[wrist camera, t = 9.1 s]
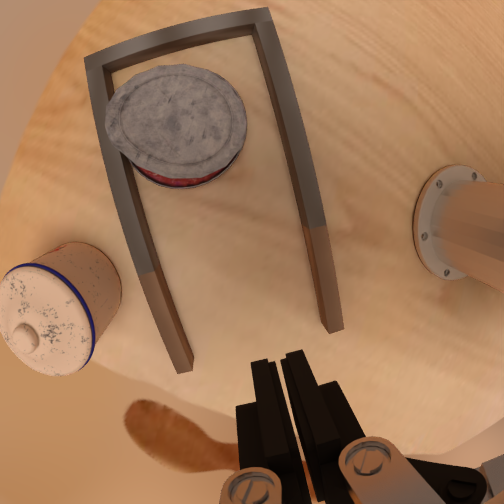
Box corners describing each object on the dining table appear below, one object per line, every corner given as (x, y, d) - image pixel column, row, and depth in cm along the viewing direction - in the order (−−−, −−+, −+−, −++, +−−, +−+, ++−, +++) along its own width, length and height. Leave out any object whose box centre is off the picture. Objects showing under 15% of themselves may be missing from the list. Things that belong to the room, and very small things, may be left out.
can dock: (264, 19, 23) (268, 6, 21) (335, 318, 31) (344, 329, 29) (93, 65, 23) (83, 57, 20) (179, 359, 30) (177, 373, 28)
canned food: (145, 117, 29) (106, 50, 19) (244, 100, 29) (234, 21, 19) (139, 223, 26) (79, 173, 17) (257, 207, 26) (248, 141, 16)
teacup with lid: (63, 220, 26) (-12, 249, 15) (141, 273, 28) (99, 333, 17) (26, 315, 28) (-34, 370, 16) (93, 362, 30) (53, 435, 18)
